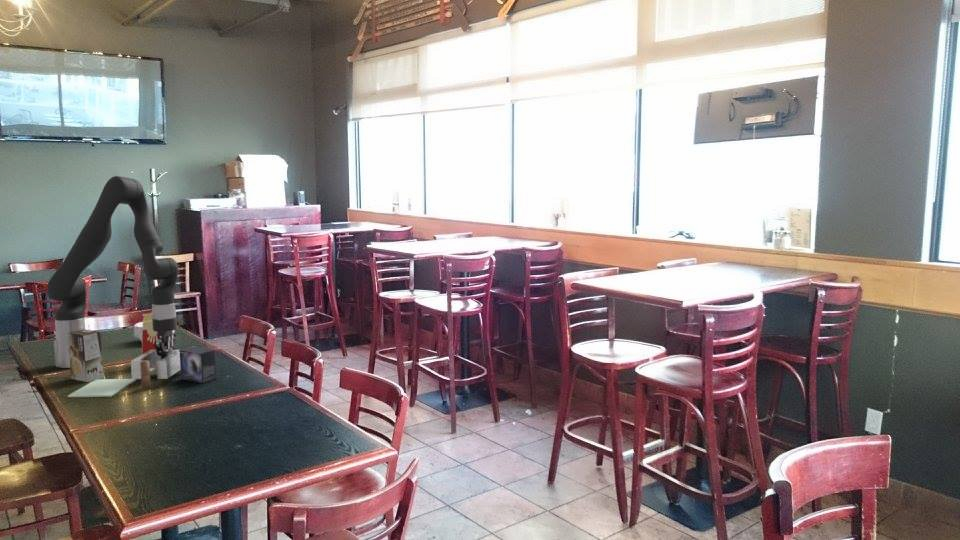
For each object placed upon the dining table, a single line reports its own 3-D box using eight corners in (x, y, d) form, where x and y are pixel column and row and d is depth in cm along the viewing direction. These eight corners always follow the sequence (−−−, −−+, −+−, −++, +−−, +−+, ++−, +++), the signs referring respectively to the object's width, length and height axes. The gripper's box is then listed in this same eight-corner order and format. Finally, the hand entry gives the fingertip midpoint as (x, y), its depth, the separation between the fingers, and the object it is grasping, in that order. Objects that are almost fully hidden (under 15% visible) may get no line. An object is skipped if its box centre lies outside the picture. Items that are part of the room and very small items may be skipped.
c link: (151, 366, 243) (150, 349, 242) (185, 366, 244) (184, 349, 243) (131, 378, 228) (130, 361, 227) (167, 378, 229) (166, 360, 228)
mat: (67, 397, 216) (67, 395, 216) (96, 380, 234) (96, 379, 234) (110, 396, 217) (110, 395, 217) (136, 380, 235) (136, 378, 235)
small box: (179, 380, 235) (177, 349, 234) (195, 375, 241) (193, 345, 240) (201, 384, 230) (200, 352, 229) (217, 379, 236) (215, 348, 235)
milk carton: (176, 361, 260) (173, 307, 257) (162, 367, 251) (159, 312, 248) (152, 360, 261) (149, 307, 258) (138, 367, 251) (134, 312, 249)
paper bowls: (126, 344, 287) (124, 325, 286) (153, 336, 301) (152, 318, 300) (156, 346, 282) (155, 327, 281) (183, 338, 297) (182, 320, 296)
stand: (140, 389, 224) (138, 362, 223) (144, 387, 226) (142, 360, 225) (148, 389, 224) (147, 362, 223) (152, 387, 227) (150, 360, 225)
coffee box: (105, 377, 238) (101, 331, 236) (86, 382, 232) (83, 335, 230) (88, 374, 242) (84, 328, 240) (69, 379, 236) (66, 332, 234)
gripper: (161, 312, 247) (164, 360, 249) (144, 320, 233) (147, 371, 235) (183, 312, 247) (185, 360, 249) (167, 320, 233) (169, 371, 235)
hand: (166, 365), depth 242 cm, fingers closed on c link
